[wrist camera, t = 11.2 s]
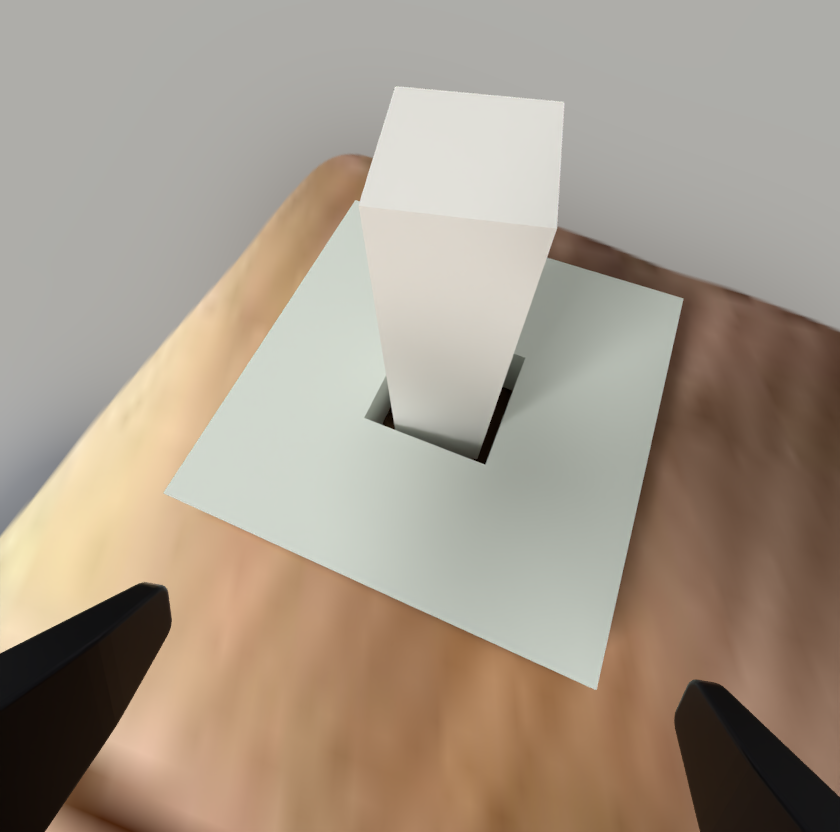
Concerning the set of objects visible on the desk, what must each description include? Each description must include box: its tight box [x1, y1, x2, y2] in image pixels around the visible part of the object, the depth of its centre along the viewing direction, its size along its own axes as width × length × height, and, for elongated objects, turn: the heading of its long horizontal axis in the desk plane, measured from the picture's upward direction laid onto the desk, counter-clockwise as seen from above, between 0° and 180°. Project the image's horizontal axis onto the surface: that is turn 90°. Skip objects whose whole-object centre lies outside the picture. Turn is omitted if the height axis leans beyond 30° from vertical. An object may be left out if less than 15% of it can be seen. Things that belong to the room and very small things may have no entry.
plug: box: [359, 86, 564, 459], centre depth 15 cm, size 4×4×13 cm
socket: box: [164, 200, 683, 690], centre depth 19 cm, size 16×16×3 cm
